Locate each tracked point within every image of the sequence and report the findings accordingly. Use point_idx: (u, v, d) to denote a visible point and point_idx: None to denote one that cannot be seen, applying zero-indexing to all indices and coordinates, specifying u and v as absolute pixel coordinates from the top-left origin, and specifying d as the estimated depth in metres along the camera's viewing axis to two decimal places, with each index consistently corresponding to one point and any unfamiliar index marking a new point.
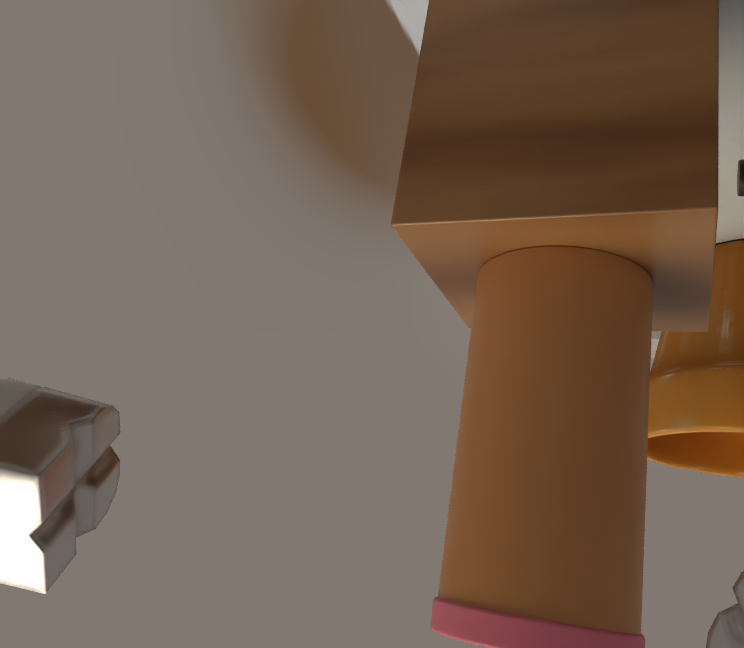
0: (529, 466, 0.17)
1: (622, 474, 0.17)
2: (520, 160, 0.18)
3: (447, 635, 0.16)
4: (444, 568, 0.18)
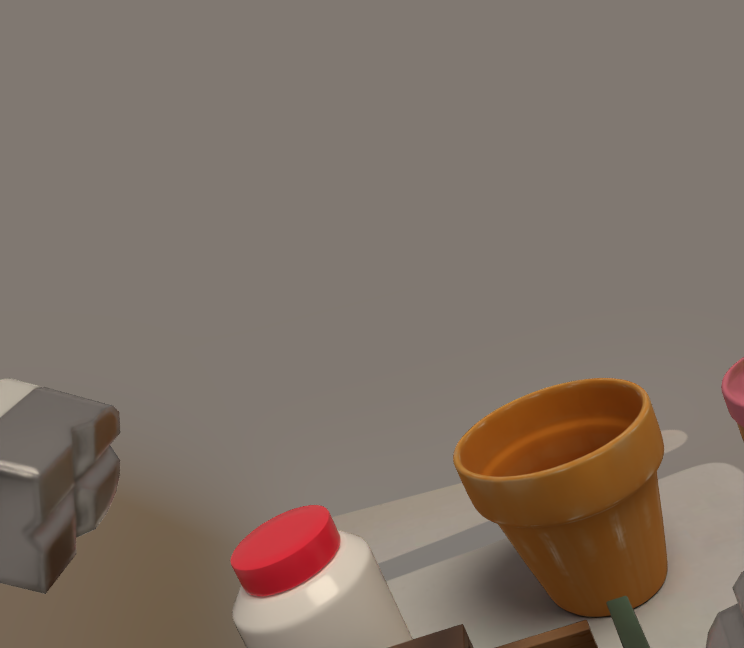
0: None
1: None
2: None
3: None
4: None
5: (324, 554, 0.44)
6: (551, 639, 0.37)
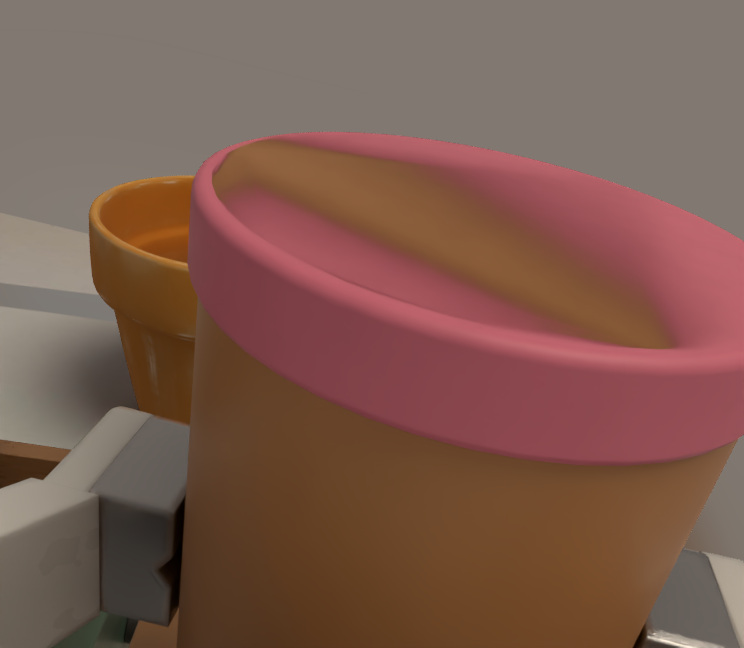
0: None
1: (198, 645, 0.07)
2: None
3: None
4: None
5: None
6: (47, 458, 0.27)
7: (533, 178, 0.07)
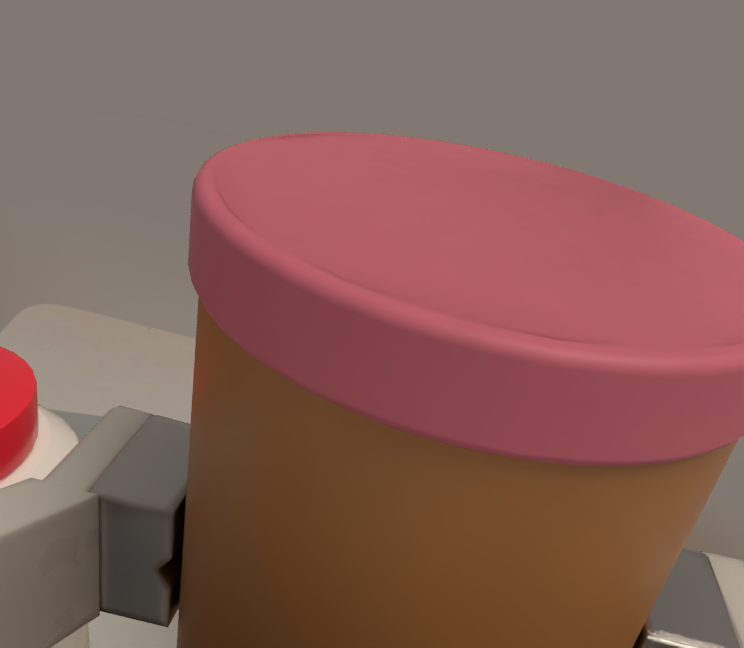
0: None
1: (199, 645, 0.07)
2: None
3: None
4: None
5: None
6: None
7: (533, 178, 0.07)
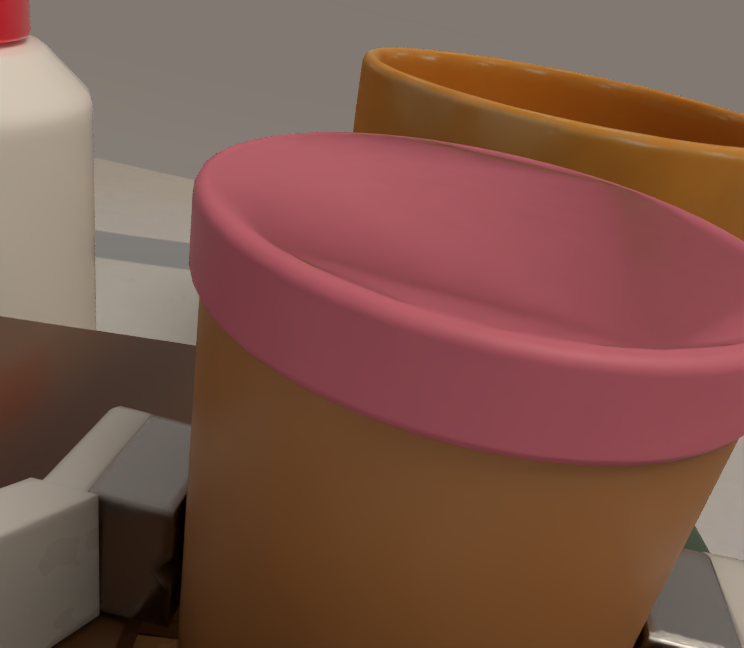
0: None
1: (199, 644, 0.07)
2: None
3: None
4: None
5: None
6: None
7: (534, 178, 0.07)
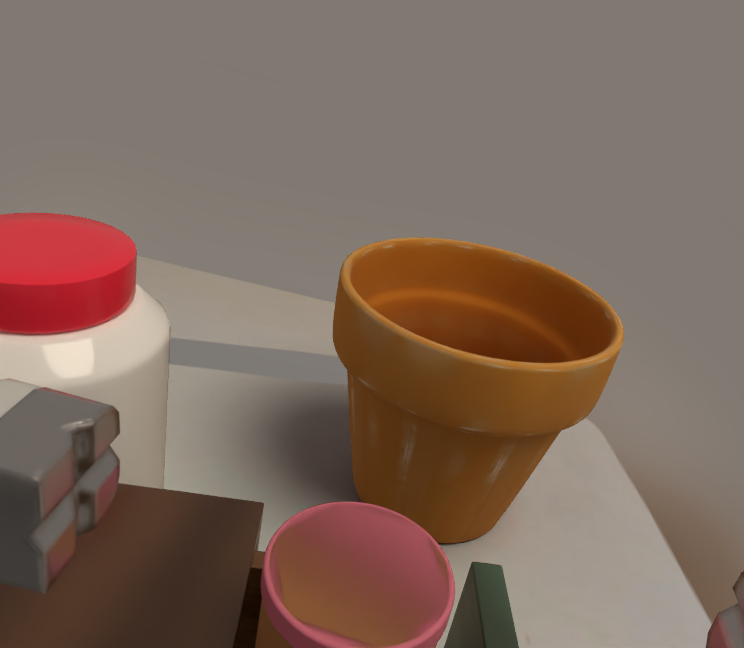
0: None
1: None
2: None
3: (425, 639, 0.17)
4: None
5: (101, 309, 0.26)
6: None
7: (383, 533, 0.20)
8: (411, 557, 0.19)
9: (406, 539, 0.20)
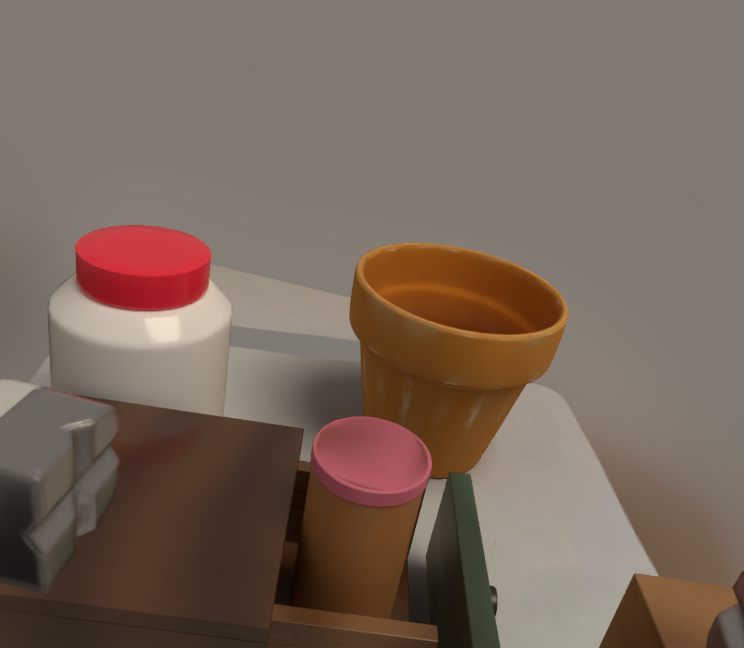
0: (355, 564, 0.29)
1: (309, 543, 0.30)
2: None
3: (412, 488, 0.28)
4: (415, 506, 0.29)
5: (190, 293, 0.38)
6: None
7: (387, 434, 0.31)
8: (404, 447, 0.30)
9: (402, 438, 0.31)
